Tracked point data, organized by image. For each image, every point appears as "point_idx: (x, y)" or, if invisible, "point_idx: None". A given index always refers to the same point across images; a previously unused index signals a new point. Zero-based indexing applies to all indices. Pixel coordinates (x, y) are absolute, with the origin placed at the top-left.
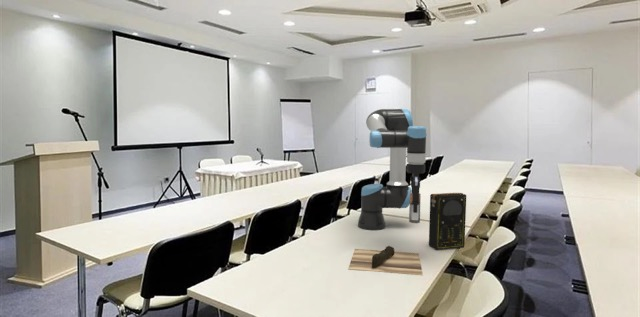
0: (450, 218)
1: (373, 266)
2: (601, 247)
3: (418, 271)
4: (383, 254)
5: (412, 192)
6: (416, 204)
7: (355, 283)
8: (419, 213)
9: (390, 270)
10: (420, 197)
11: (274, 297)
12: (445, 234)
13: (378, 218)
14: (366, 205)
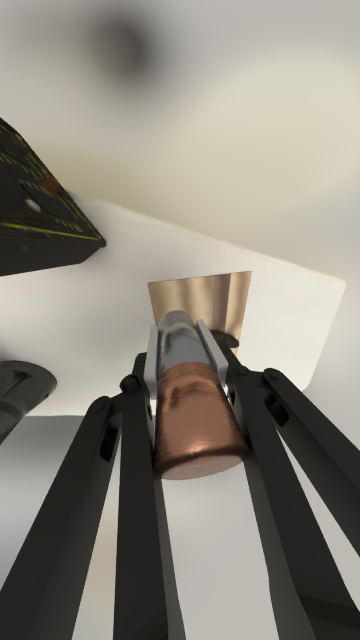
0: None
1: (235, 338)
2: None
3: (238, 278)
4: (213, 337)
5: (161, 483)
6: (252, 374)
7: (272, 343)
8: (190, 329)
9: (237, 317)
10: (201, 403)
11: (291, 381)
12: (57, 205)
13: (11, 387)
14: (4, 435)
